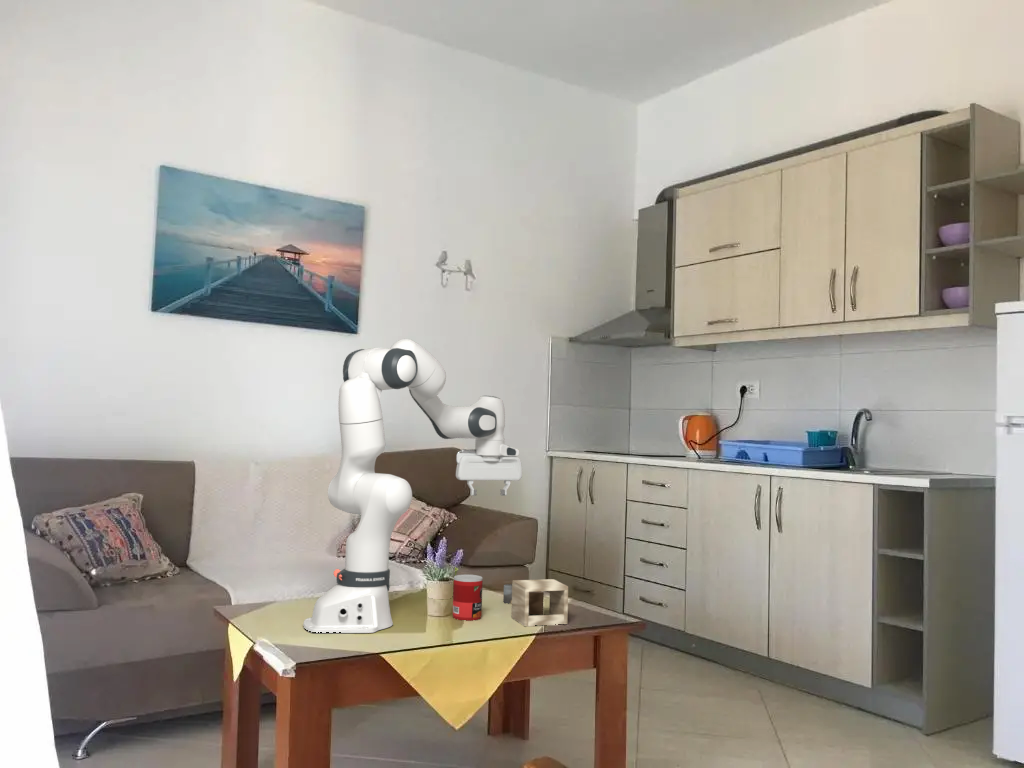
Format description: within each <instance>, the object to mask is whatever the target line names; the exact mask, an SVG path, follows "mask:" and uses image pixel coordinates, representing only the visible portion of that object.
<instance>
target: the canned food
mask: <svg viewBox="0 0 1024 768" xmlns="http://www.w3.org/2000/svg"><path fill="white" fill-rule="evenodd" d="M482 611H483V576H481V575H476V574H456V576H454V581H453V592H452V618H453V619H454V618H455V619H454V620H457V619H458V620H457V621H462V620H466V621H465V622H473V620H475V621H478V619H479V620H480V619H481V618H482Z"/></svg>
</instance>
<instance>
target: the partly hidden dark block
mask: <svg viewBox="0 0 1024 768" xmlns="http://www.w3.org/2000/svg"><path fill="white" fill-rule="evenodd" d="M544 592H545V591H530V592H529V613H528V614H540V615H544V601H545V600H544V597H545V593H544ZM502 602H504V604H506V603H508V604H507V605H512V583H506V584H503V601H502ZM509 603H511V604H509Z"/></svg>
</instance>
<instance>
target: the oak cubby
mask: <svg viewBox="0 0 1024 768" xmlns="http://www.w3.org/2000/svg"><path fill="white" fill-rule="evenodd" d="M511 584H512V604H511V617H512V618H511V619H513V620H514V619H515V622H517V621H518V622H517V623H518V624H520V623H521V624H522V625H521V624H520V625H521V626H523V625H524V626H527V627H536V626H535V625H547V626H559V625H558V624H567V625H568V618H569V617H568V614H569V613H568V610H569V586H568V585H567V584H564V583H562V582H560V581H558V580H557V579H554V578H553V579H552V578H550V579H549V578H548V579H547V578H546V579H517V580H511ZM530 591H541V592H549V604H548V605H549V607H548V608H549V609H548V614H540V615H528V613H529V592H530ZM555 624H556V625H555ZM524 626H523V627H524Z"/></svg>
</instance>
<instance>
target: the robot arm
mask: <svg viewBox="0 0 1024 768" xmlns="http://www.w3.org/2000/svg"><path fill="white" fill-rule="evenodd" d="M344 359H345V360H344V362H343V365H342V378H343V382H342V384H341V385H340V387H339V391H338V422H339V430H340V432H339V433H340V442H341V443H340V444H341V458H340V463H339V467H338V470H337V472H336V473H335V476H334V477H333V478H332V479H331V480H330V482H329V484H328V488H327V498H328V500H329V503H330V505H332V507H334V508H335V509H338V510H340V511H342V512H345V513H347V514H354V515H356V514H357V515H360V519H359V524H358V526H357V528H356V530H355V531H353V532H352V533H350V534H349V535H348V537H347V539H346V541H345V560H344V561H345V562H344V563H345V564H344V569H342V570H340V569H339V568H335V570H333V575H334V577H335V578H336V585H334V586H333V587H332V588H330V589H329V590H328V591H326V592H324V594H322V595H321V596H320V597H319V598H317V600H316V601H315V603H314V607H313V609H312V610H313V611H312V616H311V617H307V618H305V619H304V620H303V624H302V626H304V627H303V629H304V628H305V629H306V630H308V631H307V632H309V631H311V632H310V633H312V632H316V633H315V634H327V633H326V632H329V633H328V634H334V633H333V632H336V633H335V634H368V633H369V634H370V633H371V634H372V633H376V632H378V631H380V630H384V629H388V628H390V627H392V626H393V625H394V622H393V619H392V618H393V617H392V614H391V607H390V599H389V596H390V595H389V591H390V587H391V569H389V562H390V561H389V560H390V544H391V537H392V533H394V529H395V527H396V524H397V523H398V520H399V519H400V518H401V517H402V516H403V515H404V514H405V513H406V512H407V511H408V510H409V509H410V506H411V504H412V500H413V490H412V487H411V485H410V483H409V482H408V481H407V480H406V479H405V478H402V477H400V476H397V475H394V474H391V473H379V472H375V471H376V470H375V467H376V466H375V465H376V460H377V458H378V456H380V455H381V454H383V452H384V450H385V448H386V436H385V426H384V420H383V419H384V417H383V411H382V406H381V401H380V399H381V395H382V391H387V390H401V389H404V388H408V391H409V394H410V396H411V398H412V400H413V401H414V402H415V404H417V406H418V407H419V408H420V410H421V411H422V412H423V413H424V415H425V416H426V417H427V418H428V420H429V421H430V423H431V425H432V427H433V429H434V431H435V433H436V434H437V435H438V436H439V437H440V438H442V439H444V440H450V439H451V440H453V439H454V440H455V439H465V440H466V439H473V440H474V439H475V442H474V443H475V444H474V445H475V446H474V447H475V448H474V449H473V448H471V449H464V448H463V449H460V450H459V451H457V453H456V456H455V458H456V459H455V462H456V464H457V465H456V468H455V477H456V479H457V480H459V481H466V484H467V486H468V488H469V489H470V496H474V497H475V496H477V493H478V492H477V491H478V490H477V489H474V486H473V484H474V481H503V484H505V485H504V486H503V488H502V489H500V496H504V497H505V496H507V494H508V493H507V492H508V491H507V490H508V489H509V487H510V485H511V481H520V480H521V479H522V478H523V468H522V467H523V466H522V460H521V458H520V457H519V456H520V450H519V449H518V448H516V447H512V446H510V445H506V444H505V436H504V431H505V427H506V414H505V413H506V412H505V404H504V401H503V400H502V399H501V398H499V397H497V396H494V395H482V396H479V397H478V399H477V401H476V402H473V404H470V405H465V406H462V405H459V406H458V405H455V406H454V405H448V404H446V403H443V401H442V400H441V398H439V396H438V395H439V394H440V393H441V392H442V390H443V389H444V387H445V384H446V381H447V374H446V370H445V368H444V366H443V365H442V364H441V363H440V361H439V360H437V359H436V357H434V355H433V354H431V352H429V351H428V350H427V349H426V348H425V347H423V346H422V345H421V344H419V343H417V342H416V341H414V340H413V339H410V338H402V339H400V340H398V341H397V340H396V341H395V342H394V343H393V344H392V345H391V347H390V348H388V347H371V348H361V349H356V350H354V351H351V352H350V353H349V354H348V355H346V357H345V358H344ZM305 629H304V630H305ZM306 630H305V631H306ZM318 632H319V633H318ZM320 632H322V633H320ZM339 632H341V633H339Z"/></svg>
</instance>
